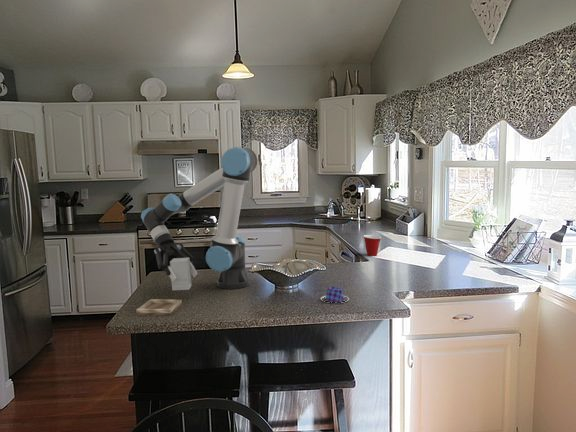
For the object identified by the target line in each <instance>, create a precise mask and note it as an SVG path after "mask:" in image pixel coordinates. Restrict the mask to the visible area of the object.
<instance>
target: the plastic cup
mask: <svg viewBox="0 0 576 432" xmlns="http://www.w3.org/2000/svg"><path fill="white" fill-rule="evenodd" d="M363 238H364V243H365V244H364V245H365V250H366V255H367V256H368V257H377V256H378V252H379V249H380V248H379V247H380V242H381V240H382V236H380V235H375V234H363Z"/></svg>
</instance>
